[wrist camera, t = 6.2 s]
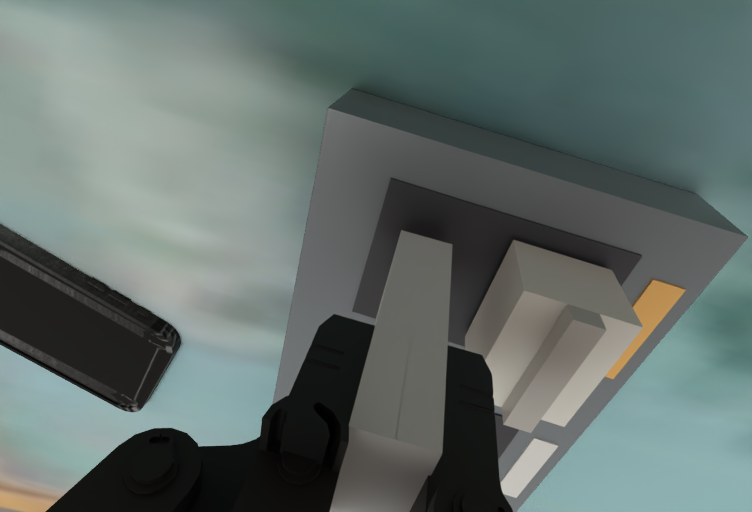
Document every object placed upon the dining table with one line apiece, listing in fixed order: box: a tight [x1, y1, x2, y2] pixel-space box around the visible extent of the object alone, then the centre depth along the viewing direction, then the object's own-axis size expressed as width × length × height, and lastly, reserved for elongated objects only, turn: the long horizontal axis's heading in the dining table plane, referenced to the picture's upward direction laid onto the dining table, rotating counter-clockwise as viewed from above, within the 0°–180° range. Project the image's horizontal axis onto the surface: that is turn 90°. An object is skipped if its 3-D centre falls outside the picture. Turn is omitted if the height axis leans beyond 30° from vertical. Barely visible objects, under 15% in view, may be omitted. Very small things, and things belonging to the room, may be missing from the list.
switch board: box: [273, 89, 748, 512], centre depth 19 cm, size 24×12×3 cm, turn 166°
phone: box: [0, 224, 181, 412], centre depth 23 cm, size 8×1×15 cm
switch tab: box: [465, 240, 643, 433], centre depth 12 cm, size 4×3×3 cm
